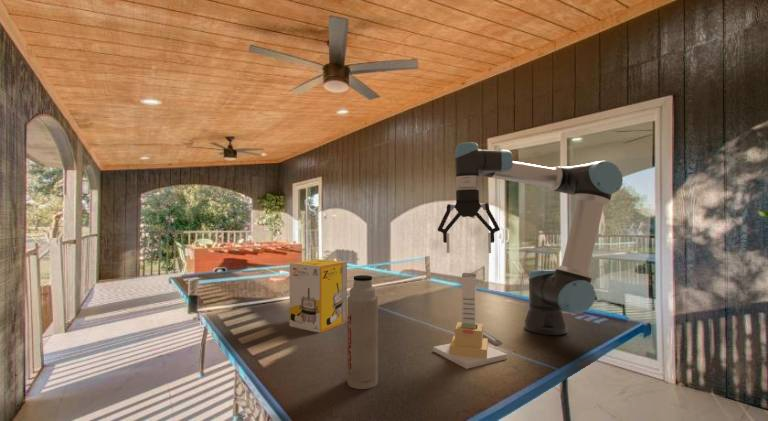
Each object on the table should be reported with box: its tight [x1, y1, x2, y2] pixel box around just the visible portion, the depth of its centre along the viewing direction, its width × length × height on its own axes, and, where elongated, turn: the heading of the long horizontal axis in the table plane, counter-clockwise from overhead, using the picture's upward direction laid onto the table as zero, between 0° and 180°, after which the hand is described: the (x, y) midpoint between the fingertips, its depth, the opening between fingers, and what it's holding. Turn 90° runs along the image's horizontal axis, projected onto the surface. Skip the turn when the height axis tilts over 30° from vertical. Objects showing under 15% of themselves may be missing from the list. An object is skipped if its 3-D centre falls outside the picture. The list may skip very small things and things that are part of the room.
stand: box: [433, 321, 508, 370], centre depth 120 cm, size 23×23×9 cm
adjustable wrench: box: [476, 322, 503, 346], centre depth 141 cm, size 25×6×2 cm, turn 9°
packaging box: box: [288, 259, 348, 334], centre depth 154 cm, size 16×16×25 cm
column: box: [461, 272, 477, 329], centre depth 120 cm, size 4×4×18 cm
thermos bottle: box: [346, 274, 379, 390], centre depth 101 cm, size 8×8×28 cm
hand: (468, 252), depth 128 cm, fingers open, 13 cm apart
